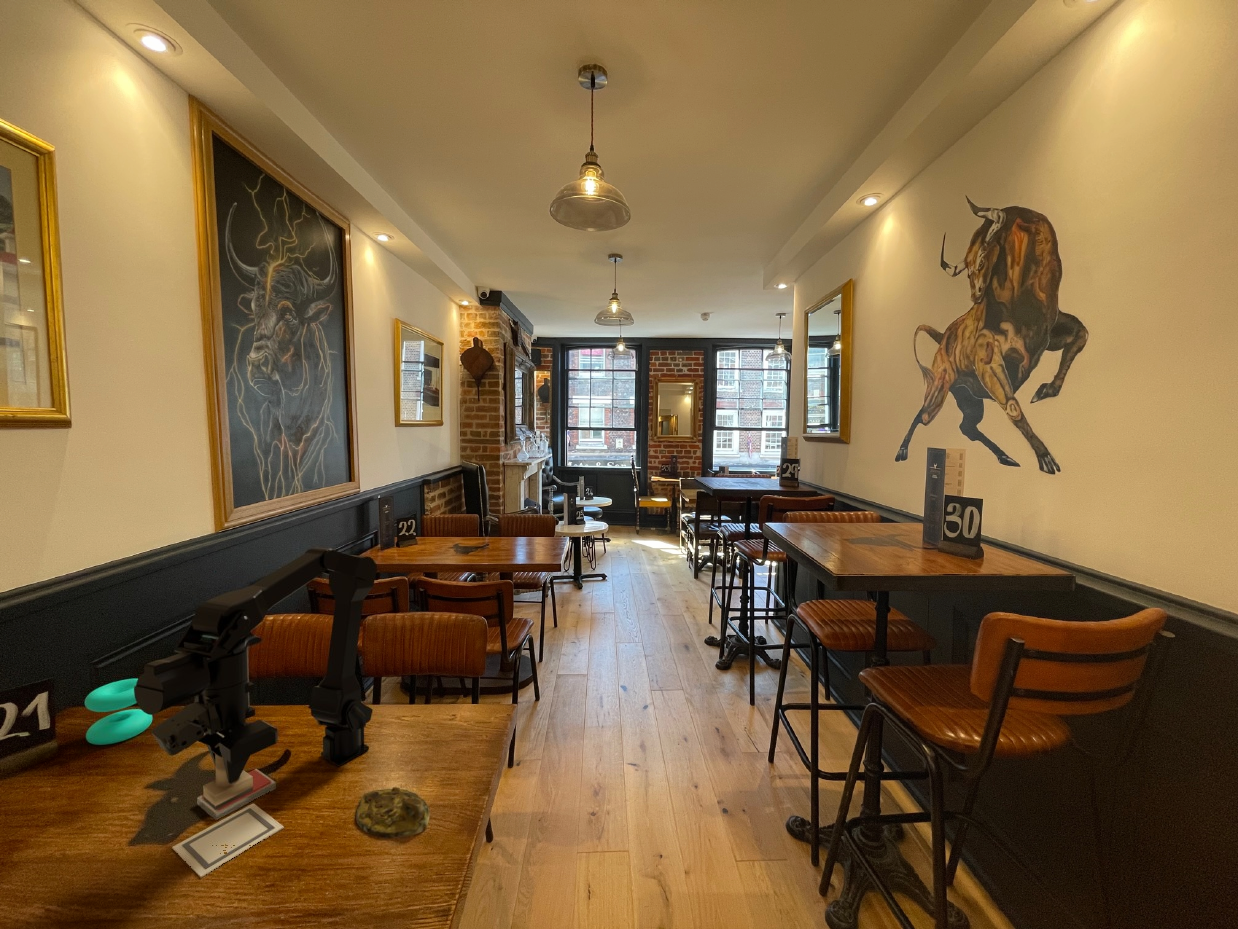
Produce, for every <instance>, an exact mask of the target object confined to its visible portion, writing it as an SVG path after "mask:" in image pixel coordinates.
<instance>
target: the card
mask: <svg viewBox="0 0 1238 929" xmlns="http://www.w3.org/2000/svg"><path fill="white" fill-rule="evenodd" d="M284 828H285V827H284V826H283V824H281V823H280V822H278V821H277V820H276V819H274V818H273V817H272V816H271V815H270V814H268V813H267V812H266V811H264V810H263V809H261V807H259V806H257V805H256V803H251V804H249V805H247V806H245V807H243V808H242V809H239V810H238V811H237V812H236V811H235V812H234V813H233V814H231V815H229V816H227V817H225V818H223V819H222V820H219V821H218V822H216V823H214V824H212V825H211V826H209V827H207V828H205V829H203V830H201V831H200V832H197V833H196V834H193V835H192V836H190V837H188V838H186V839H185V840H183V841H180V842H179V843H176V844H175V845H174V846H172V847H171V848H172V850H173V851H174V852H175V853H176V854H177V853H178V854H177V855H178V856H179V857H180V858H181V859H182V860H183V861H184V862H185V861H186V862H185V863H186V864H187V865H188V866H189V867H190V866H191V867H190V868H191V869H192V870H193V871H194V872H195V873H196V875H197V876H198V877H199V878H200V879H202V878H203V877H205V876H207V875H208V874H210V873H212V872H213V871H215V870H217V869H218V868H220V867H222V866H223V865H224V864H223V863H225V862H227V861H228V862H230V861H232V860H233V859H235V858H237V857H239V856H240V855H241V853H242V852H243V853H244V851H245V850H247V849H248V850H250V849H251V848H250V847H252V846H253V845H255V844H256V845H258V844H259V843H258V842H260V841H261V842H264V840H263V839H265V840H266V839H269V838H270V837H271V836H273V835H274V834H276V833H278V832H280V831H282V830H283V829H284ZM269 836H270V837H269ZM261 842H260V843H261ZM257 843H258V844H257ZM225 844H226V845H228V846H225ZM212 845H213V846H212ZM216 845H217V846H216ZM221 845H224V846H221ZM233 845H235V846H233ZM249 845H251V846H249ZM256 845H255V846H256ZM225 847H227V848H225ZM231 847H232V848H231ZM253 847H254V846H253ZM253 847H252V848H253ZM249 848H250V849H249ZM223 850H226V851H223ZM248 850H247V851H248ZM224 852H227V854H224ZM245 852H246V851H245ZM220 853H221V854H220ZM243 853H242V854H243ZM239 854H240V855H239ZM236 856H237V857H236ZM234 857H235V858H234ZM232 858H233V859H232ZM231 859H232V860H231ZM229 860H230V861H229ZM228 862H227V863H228ZM222 864H223V865H222ZM225 864H226V863H225ZM221 865H222V866H221ZM219 866H220V867H219ZM216 868H217V869H216ZM214 869H215V870H214ZM211 871H212V872H211ZM206 874H207V875H206Z"/></svg>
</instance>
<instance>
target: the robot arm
mask: <svg viewBox="0 0 1238 929" xmlns="http://www.w3.org/2000/svg"><path fill="white" fill-rule="evenodd" d="M377 571H378V564H377V562H376V561H375V560H374V559H373V558H372V556H365V555H364V556H363V555H354V554H346V553H342V552H340V551H337V550H335V549H333V548H330V547H329V548H327V547H318V546H314V547H312V548H308V549H307V550H305V552H304V554H302V555H299V557H296V558H295V559H293V560H292V561H290V562H289V563H287V564H285V565H284V566H282V567H280V568H278V569H277V570H275V571H273V572H272V573H269V574H268V575H267V576H264V578H262V579H260V580H258V581H257V582H255V583H253V584H252V585H249V586H247V587H244V588H240V589H237V590H232V591H229V592H225V593H222V594H220V595H218V596H214V597H212V598H210V599H208V600H205V601H203V602H202V603H201V604H200V605H199V606H197V608H196V609H195V611H194V612H195V613H194V615H193V617H192V619H191V621H190V622H189V625H188V626H187V628H186V629H185V631H184V632H183V634H182V636H181V637H180V638H179V640H178V641H177V643H176V645H174V648H173V651H174V652H176V653H177V654H174V655H171V656H168V657H166V658H162V659H157V660H154V661H150V662H148V663H145V664H144V673H141V674H140V675H139V677H138V678H137V679H138V680H137V683H136V686H135V687H134V695H135V699H136V702H137V703H136V704H137V706H138V707H139V709H141V710H142V711H143V712H145V713H146V714H149V715H152V716H154V715H156V714H158V713H161V712H163V711H165V710H168V709H170V708H172V707H174V706H176V705H179V704H181V703H183V702H185V701H187V700H191V699H193V698H194V702H192V703H190V704H189V703H188V704H187V705H185V706H184V707H183V708H182V709H180V710H178V711H177V712H176V713H174V714H173V715H171V716H170V717H168V718H166V719H165V720H164V721H162V722H160V723H159V724H157V725H156V726H154V727H153V728H152V729H151V732H150V733H151V734H152V736H153V737H154V739H155V740H156V742H157V744H158V745H159V747H160V749H162V750H164V751H165V752H166V753H167V755H169V756H176V755H178V754H179V753H181V752H183V751H184V750H186V749H188V748H190V747H191V746H193V745H194V744H195V743H197V742H199V743H201V744H204V745H206V747H207V749H208V751H209V754H210V756H211V757H210V758H211V759H212V762H213V764H214V767H215V768H216V762H215V754H216V755H218V756H219V757H223V761H224V766H225V770H226V775H227V778H228V782H229V783H230V784H232V783H234V782H236V781H237V780H238V779H239V777H240V775H241V773H242V771H243V770H244V769H245V766H246V765H247V763H248V761H249V760H250V757H251V756H253V755H255V754H257V753H259V752H260V751H264V750H265V749H267V748H270V747H272V746H274V745H276V744H277V743H278V741H279V739H278V738H279V734H278V733H279V731H278V728H277V727H275V726H273V725H271V724H270V723H268V722H266V721H264V720H262V719H258V720H255V721H251V722H247V719H249V718H251V717H254V716H256V709H255V708H254V707H252V706H251V705H250V693H251V692H253V691H255V688H256V686H255V683H254V682H252V681H251V680H250V679H249V677H250V676H249V675H250V674H249V671H250V670H249V648H250V647H253V646H255V645H257V644H259V643H261V642H262V641H263V638H262V637H260V636H257V635H255V634H254V633H253V632H252V631H253V630H255V629H256V628H257V627H258V626H259V625H260V624H261V623H262V622H263V621H264V620H265V618H266V616H267V613H268V612H269V610H271V609H272V608H273V607H274V606H276V605H277V604H280V602H281V601H283V600H285V599H286V598H288V597H290V595H292V594H294V593H296V591H298V590H300V589H302V588H303V587H304V586H306V585H307V584H309V583H311V582H312V581H314V580H315V579H316V578H318V577H320V576H322V574H325V575H328V587H329V590H330V592H331V594H332V596H333V598H334V608H333V609H334V610H333V617H332V624H331V631H330V632H331V633H330V639H329V640H330V642H329V647H328V648H329V649H328V650H329V651H328V657H327V666H326V672H325V676H324V678H323V679H322V680H321V681H320V682H319V684H318V685H316V686H315V685H314V686H313V687H312V688H311V690H310V701H309V705H308V707H307V708H308V709H310V715H311V717H313V718H314V719H315V720H316V722H317V724H318V725H319V726H324V736H323V737H322V752H320V756H321V757H322V758H323V759H325V760H327V761H328V762H330V763H333V765H335V766H337V767H340V766H342V765H344V764H346V763H348V762H349V761H352V759H354V758H355V759H356V757H359V756H361V755H362V754H364V753H365V752H367V751H368V750H370V746H369V745H368V744H365V727H366V726H367V723H369V722H371V720H372V714H373V712H374V711H373V708H371V707H369V706H368V705H366V704H364V703H363V702H362V687H361V686H360V683H359V681H358V678H357V677H356V674H355V671H356V665H357V664H356V663H357V657H358V655H357V654H358V649H359V647H358V645H359V640H360V639H359V638H360V631H361V622H362V613H363V604H364V600H365V598H366V597H368V594H369V593H370V592H371V591H372V589H373V587H374V584H375V581H376V576H377ZM202 638H209V639H214V640H217V641H216V642H214V643H213V642H209V641H204V640H201V639H202ZM218 743H219V744H220V746H218V747H216V748H215V746H216V745H217V744H218Z"/></svg>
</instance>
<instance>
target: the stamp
mask: <svg viewBox="0 0 1238 929" xmlns="http://www.w3.org/2000/svg"><path fill="white" fill-rule="evenodd" d="M218 746H220V744H219V743H218V744H217V745H216V746H215V748H216V747H218ZM215 762H216V767H215V779H214V780H213V781H210V782H208V783H206V784H204V785H203V787H202V789H203V794H202V795H204V801H205V802H206V803H208V804H209V805H210V806H211V807H212V808H214V809H215V810H217V809H219V808H221V807H222V806H224V805H226V804H228V803H230V802H232V801H234V800H236V799H238V798H240V797H242V796H244V795H245V794H247V793H249V792H251V791H253V777H252V776H251V775H250V774H248V773H249V772H247V771H246V770H244V769H243V771H242V773H241V775H240V777H239V779H238V780H237V781H236V782H234V783H232V784H230V783H229V782H228V778H227V775H226V770H225V766H224V761H223V757H219V756H218V755H216V754H215Z"/></svg>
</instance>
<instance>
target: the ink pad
mask: <svg viewBox="0 0 1238 929" xmlns="http://www.w3.org/2000/svg"><path fill="white" fill-rule="evenodd" d="M247 773H248V774H250V775H251V776H252V777H253V791H251V792H249V793H247V794H245V795H244V796H242V797H240V798H238V799H236V800H234V801H232V802H230V803H228V804H226V805H224V806H222V807H221V808H219V809H217V810H215V809H214V808H212V807H211V806H210V805H209V804H208V803H206V802H205V801H204V794H202V795H199V796H198V797H197V798H196V800H197V801H196V803H197V806H199V807H200V808H201V809H202V811H204V812H205V813H206V814H208V816H210V817H211V818H212V817H213V818H212V819H214V821H218V820H220V819H222V818H223V817H226V816H227V815H229V814H231V813H233V812H236V811H237V810H240V809H241V808H242V807H244V806H246V805H248V804H250V803H252V802H253V801H252V800H254V799H256V798H257V799H259V798H261V797H263V796H265V795H267V794H268V792H269V791H270V792H273V791H274V790H276V789H277V785H276V784H277V783H276V781H274V779H272V778H271V777H269V776H267V774H265V773H263V772H262V771H260V770H259V769H257V768H255V769H253V770H251V771H249V772H247ZM270 792H269V793H270ZM266 793H267V794H266ZM262 795H263V796H262ZM260 796H261V797H260ZM258 797H259V798H258ZM257 799H256V800H257ZM251 801H252V802H251ZM254 801H255V800H254ZM249 802H250V803H249ZM221 817H222V818H221ZM219 818H220V819H219ZM217 819H218V820H217Z"/></svg>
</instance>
